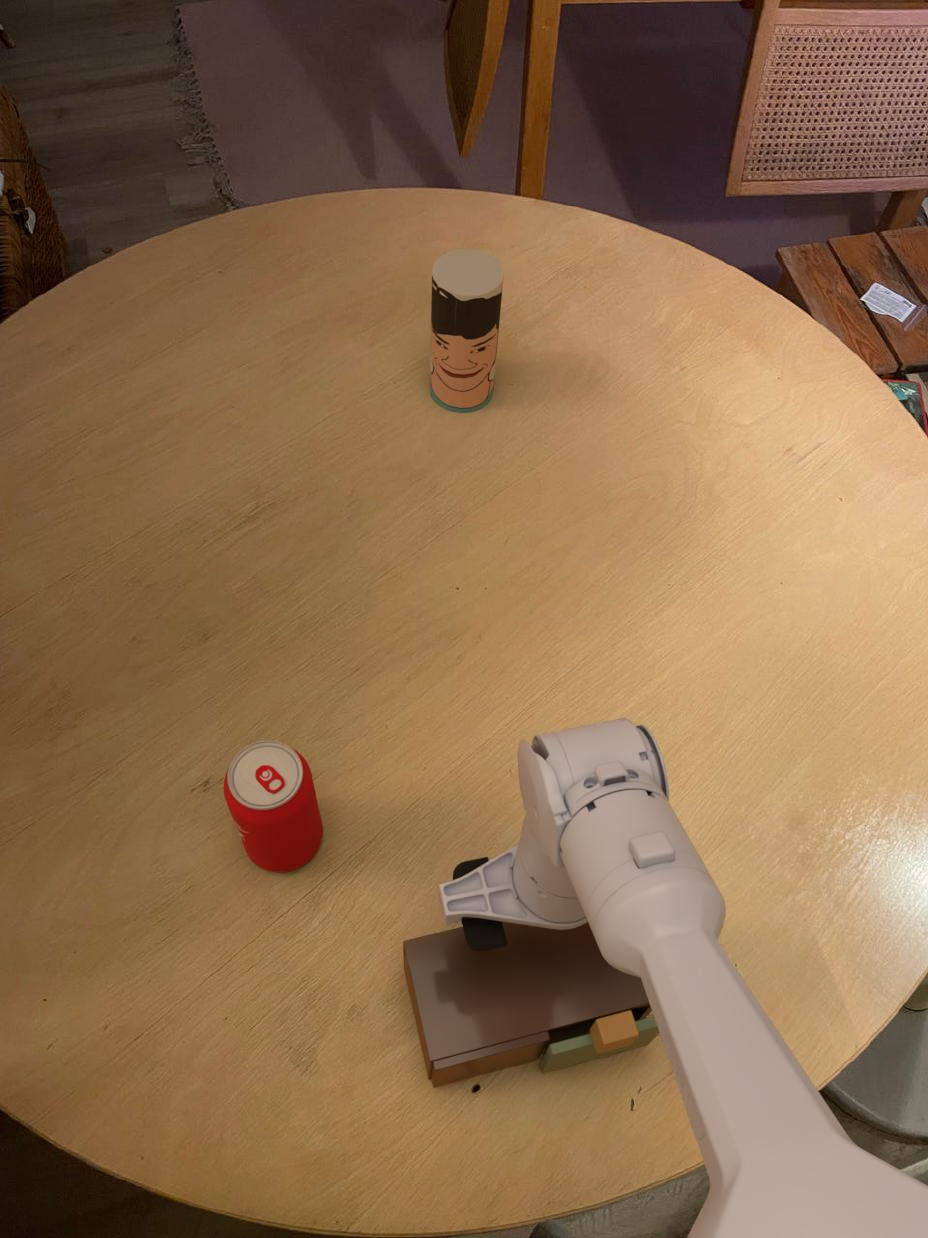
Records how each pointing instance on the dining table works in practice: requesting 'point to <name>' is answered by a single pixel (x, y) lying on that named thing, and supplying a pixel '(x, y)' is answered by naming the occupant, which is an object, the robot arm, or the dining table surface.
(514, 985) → the cabinet
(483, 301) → the tan and black cylinder
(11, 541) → the dining table surface
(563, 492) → the dining table surface
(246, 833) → the beverage can
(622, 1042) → the green drawer
